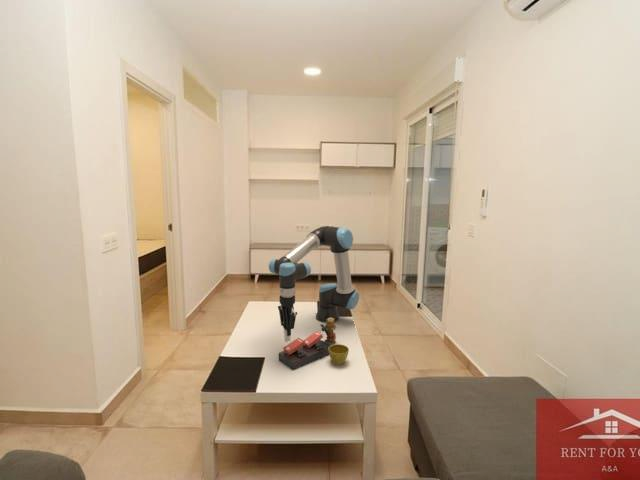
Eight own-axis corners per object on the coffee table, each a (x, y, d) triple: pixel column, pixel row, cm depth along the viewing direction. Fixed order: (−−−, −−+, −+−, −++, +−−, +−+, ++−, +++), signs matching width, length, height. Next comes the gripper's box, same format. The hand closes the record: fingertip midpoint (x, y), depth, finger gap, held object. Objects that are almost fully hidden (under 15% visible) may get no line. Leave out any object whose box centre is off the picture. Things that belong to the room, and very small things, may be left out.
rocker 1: (299, 340, 177) (298, 337, 176) (305, 344, 173) (304, 340, 172) (283, 351, 171) (283, 347, 170) (289, 355, 167) (288, 351, 166)
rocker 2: (316, 334, 184) (315, 330, 184) (322, 337, 181) (322, 334, 180) (302, 344, 179) (301, 341, 178) (309, 348, 175) (308, 345, 174)
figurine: (338, 341, 193) (339, 316, 191) (333, 346, 186) (334, 320, 184) (323, 338, 197) (324, 313, 194) (318, 343, 190) (318, 317, 188)
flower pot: (328, 356, 175) (328, 343, 174) (347, 357, 175) (348, 344, 174) (327, 367, 165) (328, 353, 164) (348, 368, 165) (349, 354, 164)
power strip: (317, 345, 188) (318, 335, 187) (332, 353, 179) (333, 343, 178) (278, 360, 171) (278, 350, 170) (293, 370, 162) (293, 359, 161)
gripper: (273, 293, 167) (273, 338, 171) (289, 300, 157) (289, 348, 161) (285, 290, 171) (285, 334, 176) (301, 297, 162) (301, 343, 166)
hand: (287, 340), depth 168 cm, fingers closed
